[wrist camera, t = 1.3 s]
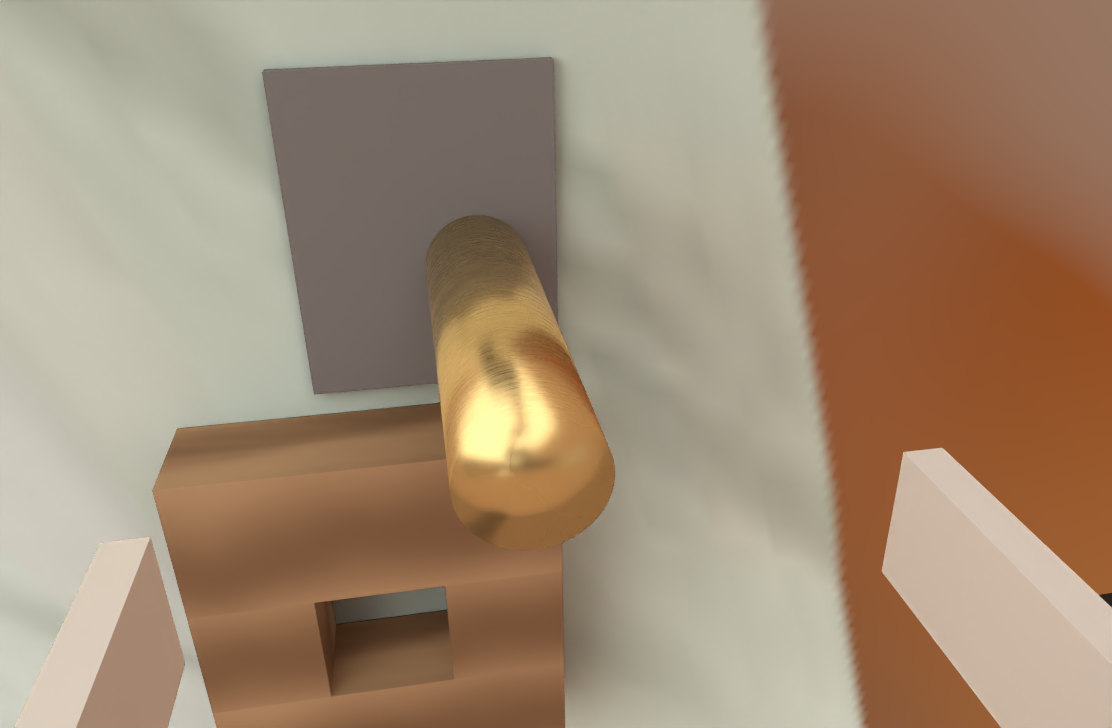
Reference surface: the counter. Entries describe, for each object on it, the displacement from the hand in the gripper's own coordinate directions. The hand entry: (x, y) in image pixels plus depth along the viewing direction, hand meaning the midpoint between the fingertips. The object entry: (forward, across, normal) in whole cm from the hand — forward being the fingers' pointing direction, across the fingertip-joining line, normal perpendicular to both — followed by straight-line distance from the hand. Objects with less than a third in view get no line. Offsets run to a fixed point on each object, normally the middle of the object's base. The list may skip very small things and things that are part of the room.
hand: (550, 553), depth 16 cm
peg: (+14, 0, 0) cm, 14 cm away
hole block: (+14, -4, -12) cm, 19 cm away
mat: (+14, -2, +2) cm, 14 cm away
